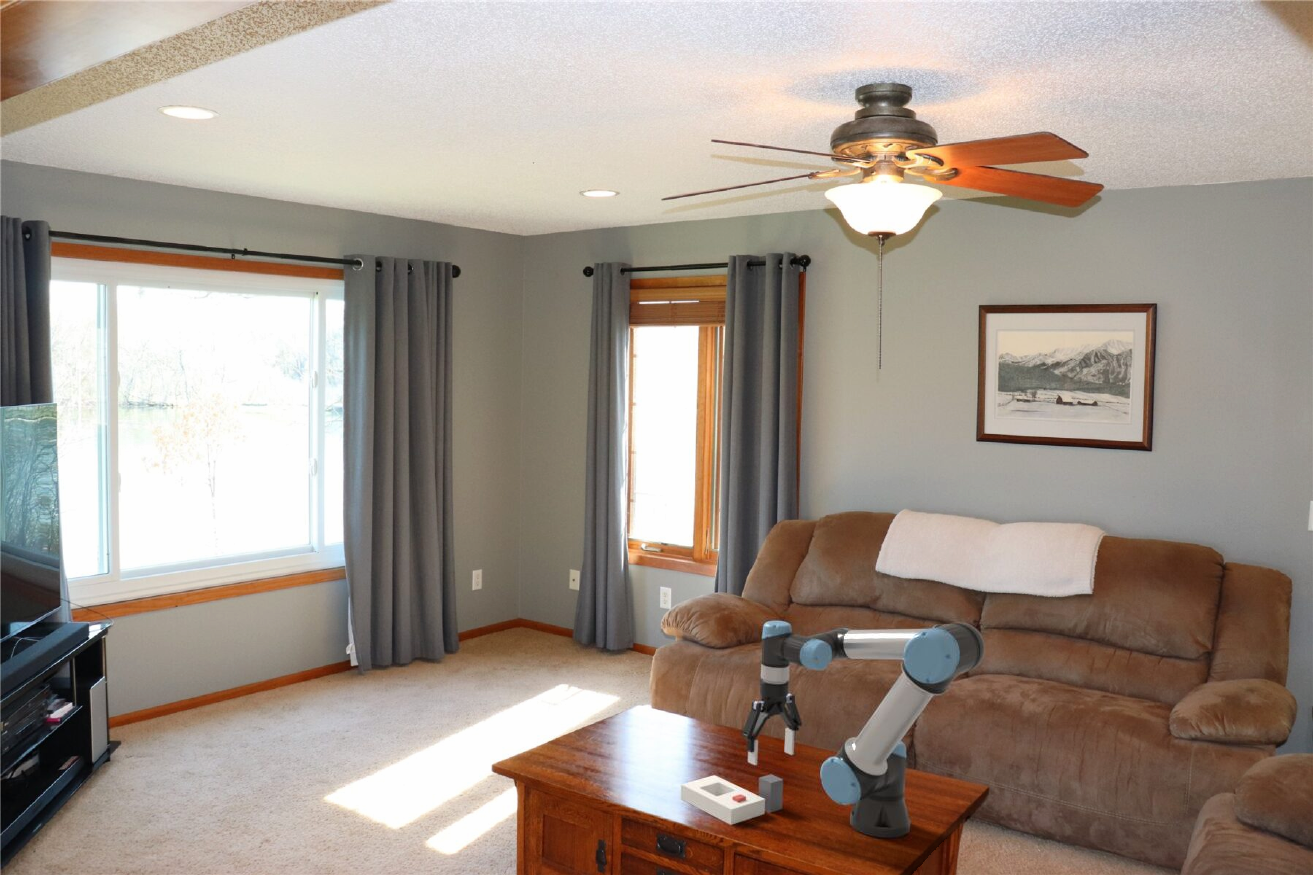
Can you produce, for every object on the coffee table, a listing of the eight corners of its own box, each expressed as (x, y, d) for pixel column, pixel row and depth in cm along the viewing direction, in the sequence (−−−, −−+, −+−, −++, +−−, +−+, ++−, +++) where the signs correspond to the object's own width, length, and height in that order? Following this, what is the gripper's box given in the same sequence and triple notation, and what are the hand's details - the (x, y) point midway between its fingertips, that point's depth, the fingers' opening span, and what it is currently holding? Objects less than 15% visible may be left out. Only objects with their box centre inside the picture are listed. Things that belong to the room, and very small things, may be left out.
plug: (781, 808, 278) (783, 779, 278) (769, 812, 275) (771, 782, 275) (770, 803, 282) (771, 774, 281) (758, 806, 279) (759, 777, 278)
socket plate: (764, 813, 274) (765, 795, 274) (730, 824, 267) (731, 806, 267) (714, 789, 290) (714, 772, 290) (680, 798, 282) (681, 781, 282)
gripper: (797, 669, 287) (793, 744, 289) (730, 683, 272) (726, 763, 273) (817, 676, 281) (813, 753, 283) (750, 690, 266) (746, 772, 267)
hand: (770, 758), depth 278 cm, fingers open, 13 cm apart
